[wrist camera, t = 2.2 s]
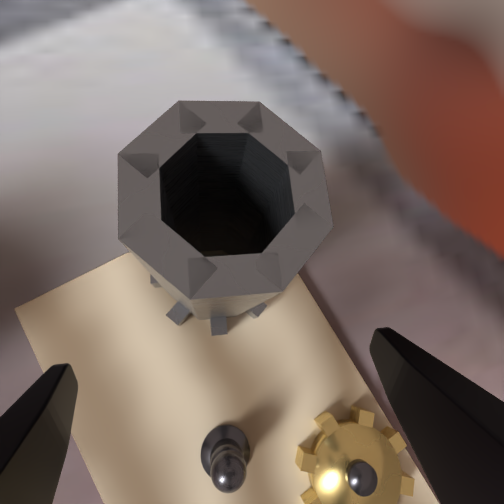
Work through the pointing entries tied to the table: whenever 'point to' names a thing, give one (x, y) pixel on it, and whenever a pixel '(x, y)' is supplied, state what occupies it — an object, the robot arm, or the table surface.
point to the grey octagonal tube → (221, 206)
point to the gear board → (195, 387)
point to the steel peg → (226, 457)
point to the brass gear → (354, 462)
